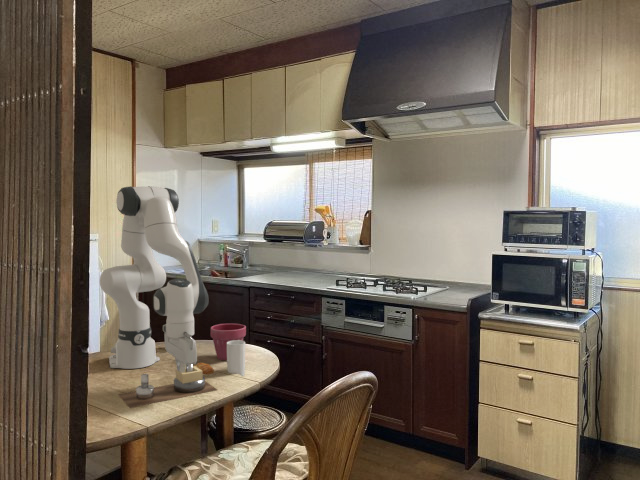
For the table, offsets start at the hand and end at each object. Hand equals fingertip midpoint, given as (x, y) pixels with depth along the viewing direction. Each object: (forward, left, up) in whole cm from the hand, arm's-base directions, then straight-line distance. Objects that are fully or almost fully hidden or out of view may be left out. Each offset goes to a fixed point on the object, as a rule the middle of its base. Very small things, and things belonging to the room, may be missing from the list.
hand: (180, 371), depth 170 cm
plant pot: (-30, +31, -8) cm, 44 cm away
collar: (0, +3, -3) cm, 4 cm away
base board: (0, -4, -8) cm, 9 cm away
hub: (0, +3, -6) cm, 7 cm away
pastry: (-16, +14, -8) cm, 23 cm away
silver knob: (0, -12, -6) cm, 13 cm away
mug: (-10, +25, -8) cm, 28 cm away
